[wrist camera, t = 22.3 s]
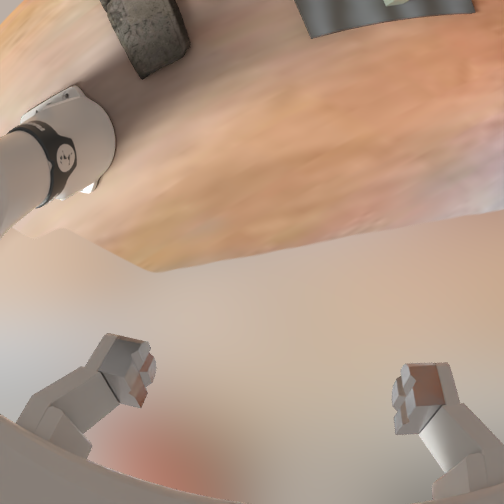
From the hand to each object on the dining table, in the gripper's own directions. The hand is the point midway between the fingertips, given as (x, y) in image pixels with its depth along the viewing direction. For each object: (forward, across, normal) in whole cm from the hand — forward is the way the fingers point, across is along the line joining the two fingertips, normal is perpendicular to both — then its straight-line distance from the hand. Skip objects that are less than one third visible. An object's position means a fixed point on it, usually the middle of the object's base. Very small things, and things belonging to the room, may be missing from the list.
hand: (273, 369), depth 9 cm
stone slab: (+38, +23, -23) cm, 50 cm away
